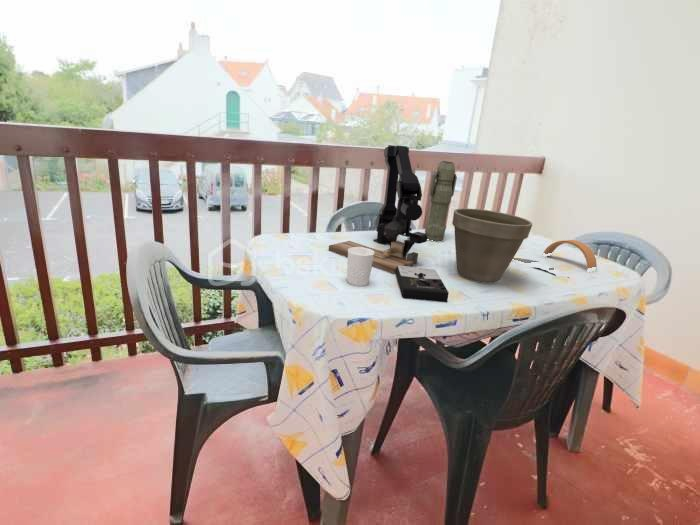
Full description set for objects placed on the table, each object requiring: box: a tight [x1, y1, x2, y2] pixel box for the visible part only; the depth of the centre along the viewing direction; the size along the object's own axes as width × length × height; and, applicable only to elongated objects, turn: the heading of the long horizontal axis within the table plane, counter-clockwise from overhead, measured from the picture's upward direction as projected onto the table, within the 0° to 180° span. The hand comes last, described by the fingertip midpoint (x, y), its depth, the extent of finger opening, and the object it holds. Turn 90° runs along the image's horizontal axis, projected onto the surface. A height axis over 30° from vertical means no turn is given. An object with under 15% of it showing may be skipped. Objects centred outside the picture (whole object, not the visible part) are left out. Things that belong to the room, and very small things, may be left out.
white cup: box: [346, 247, 374, 287], centre depth 113 cm, size 8×8×10 cm
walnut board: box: [327, 240, 419, 275], centre depth 138 cm, size 17×30×4 cm, turn 50°
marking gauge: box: [382, 240, 407, 260], centre depth 136 cm, size 11×5×6 cm, turn 140°
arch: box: [543, 239, 597, 269], centre depth 155 cm, size 6×20×10 cm, turn 30°
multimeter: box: [394, 266, 449, 303], centre depth 115 cm, size 13×19×5 cm
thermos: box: [424, 160, 458, 242], centre depth 167 cm, size 9×12×35 cm
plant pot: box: [451, 208, 533, 284], centre depth 128 cm, size 25×25×22 cm
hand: (398, 255), depth 139 cm, fingers closed on marking gauge, 5 cm apart
